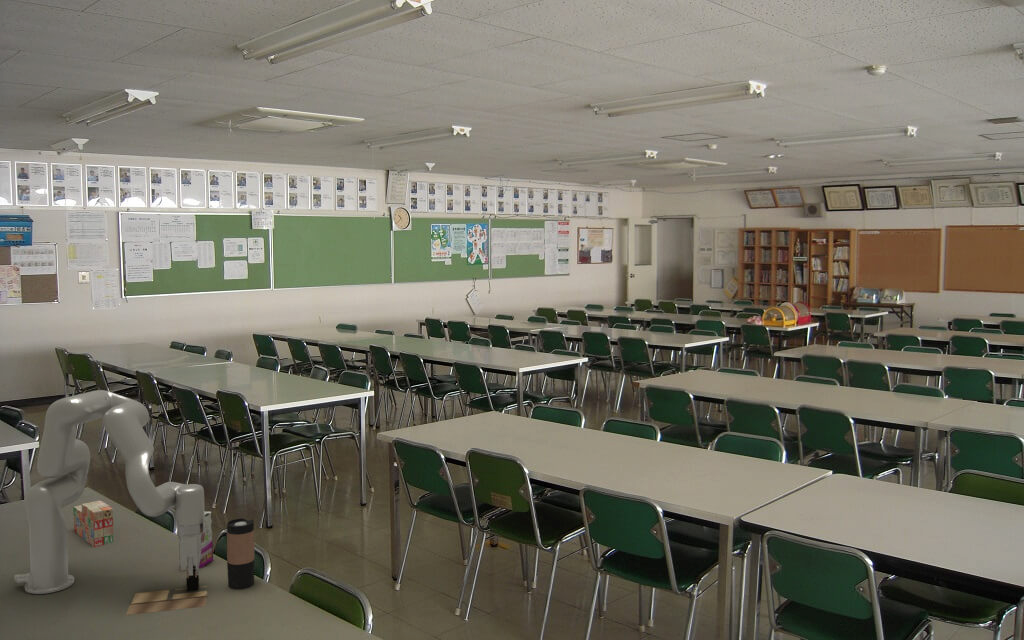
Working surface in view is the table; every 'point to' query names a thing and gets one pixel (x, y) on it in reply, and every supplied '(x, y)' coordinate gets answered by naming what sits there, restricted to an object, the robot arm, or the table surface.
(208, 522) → the candy bar box
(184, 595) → the plank
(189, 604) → the laid board
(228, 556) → the travel mug
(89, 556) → the table surface
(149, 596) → the plank
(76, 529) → the stack of blocks
